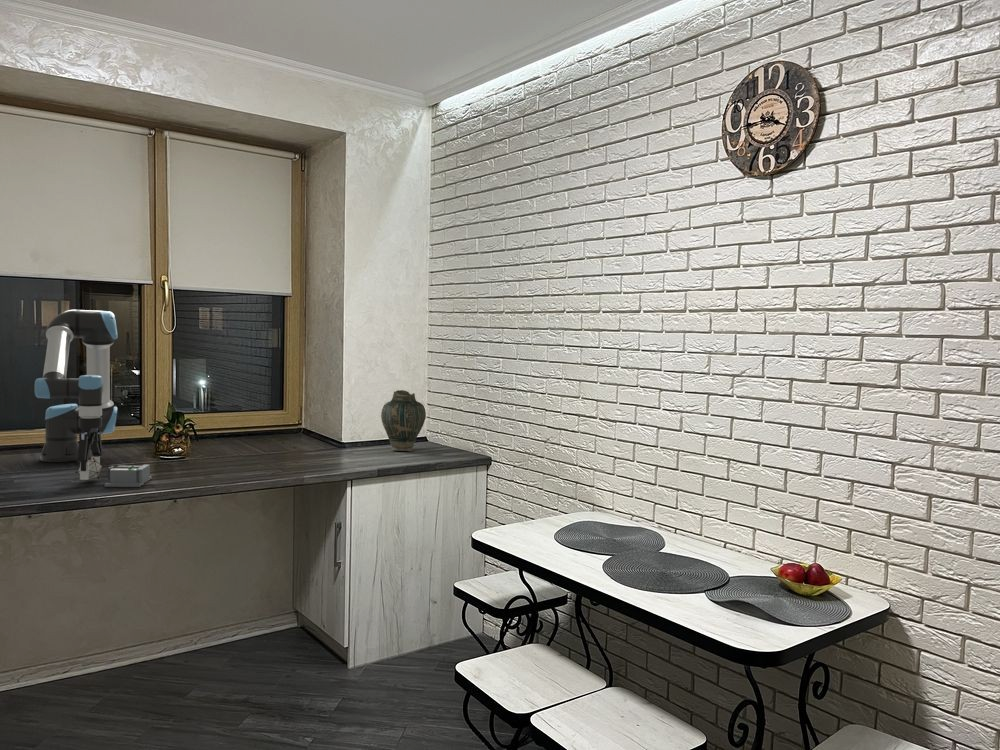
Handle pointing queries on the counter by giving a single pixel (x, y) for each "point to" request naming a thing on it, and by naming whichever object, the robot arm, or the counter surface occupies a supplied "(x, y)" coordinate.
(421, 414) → the vase
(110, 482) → the gauge housing
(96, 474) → the game die
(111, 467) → the block with dark end
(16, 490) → the counter surface
